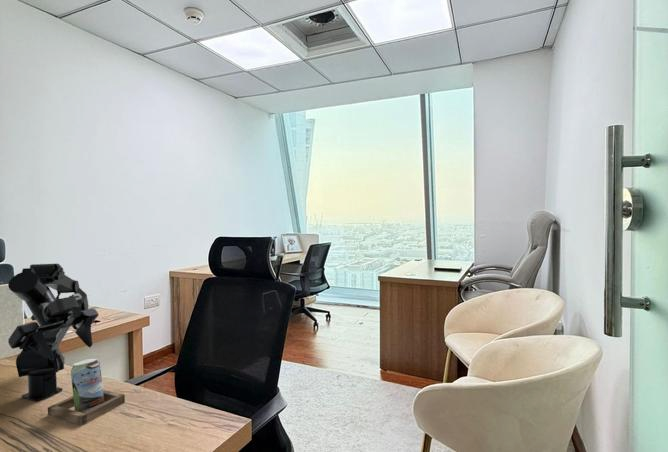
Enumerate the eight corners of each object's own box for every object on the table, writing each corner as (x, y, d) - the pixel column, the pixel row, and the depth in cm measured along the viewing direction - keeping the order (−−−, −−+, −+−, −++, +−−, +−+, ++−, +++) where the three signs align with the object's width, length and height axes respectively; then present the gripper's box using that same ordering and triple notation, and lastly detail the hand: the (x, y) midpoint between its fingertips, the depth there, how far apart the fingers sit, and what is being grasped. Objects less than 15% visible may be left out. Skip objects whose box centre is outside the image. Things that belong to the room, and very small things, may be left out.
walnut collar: (47, 415, 84) (47, 407, 84) (92, 394, 95) (92, 387, 95) (81, 425, 80) (81, 416, 80) (124, 402, 90) (124, 394, 90)
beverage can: (89, 416, 84) (88, 367, 84) (63, 413, 85) (63, 364, 85) (110, 403, 90) (110, 357, 90) (86, 400, 92) (86, 354, 91)
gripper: (15, 292, 82) (46, 344, 78) (93, 279, 99) (122, 322, 96) (-5, 322, 85) (24, 374, 81) (75, 305, 102) (102, 347, 98)
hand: (73, 352), depth 89 cm, fingers open, 9 cm apart
